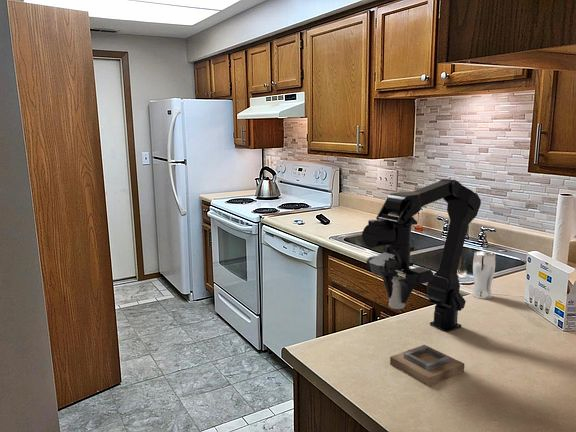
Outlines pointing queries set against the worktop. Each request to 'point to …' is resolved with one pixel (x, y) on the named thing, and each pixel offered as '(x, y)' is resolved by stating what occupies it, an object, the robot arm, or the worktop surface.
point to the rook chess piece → (396, 294)
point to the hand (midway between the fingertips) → (397, 300)
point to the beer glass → (483, 274)
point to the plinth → (427, 364)
